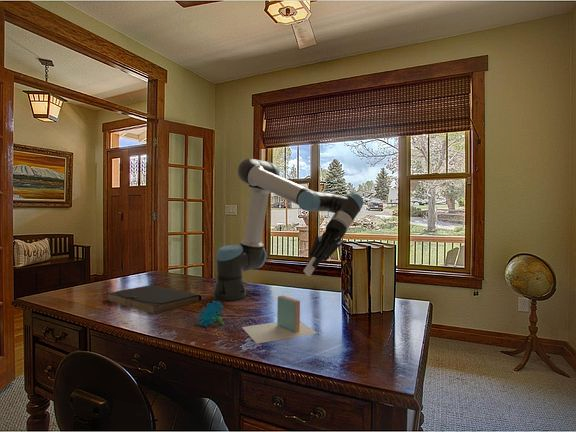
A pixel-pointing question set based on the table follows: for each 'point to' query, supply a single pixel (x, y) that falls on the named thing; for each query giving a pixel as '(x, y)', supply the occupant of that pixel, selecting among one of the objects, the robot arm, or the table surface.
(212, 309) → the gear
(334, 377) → the table surface
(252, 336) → the felt mat
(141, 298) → the dark hardcover book
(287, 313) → the tile
